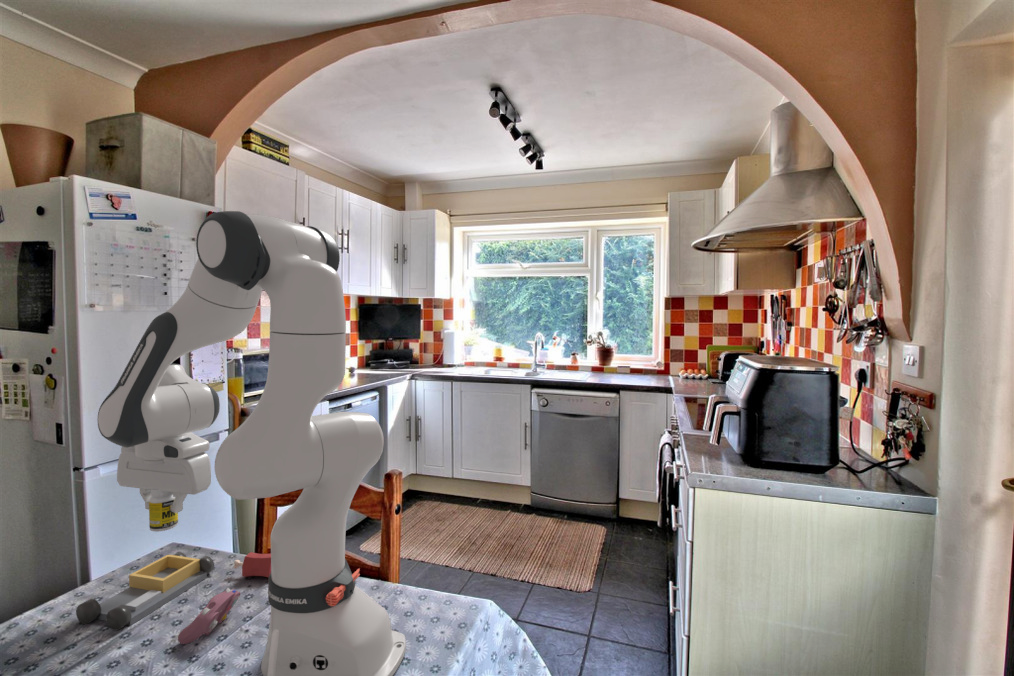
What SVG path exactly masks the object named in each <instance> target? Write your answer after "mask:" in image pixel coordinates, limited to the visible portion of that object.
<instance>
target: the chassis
mask: <svg viewBox="0 0 1014 676" xmlns="http://www.w3.org/2000/svg"><path fill="white" fill-rule="evenodd" d="M214 569H215V561H214V560H213V559H212V558H211V557H210V556H209V555H205V556H202V557H201V558H194V557H188V556H187V555H186V554H185V553H183V552H182V551H178V552H176V553H173V554H167V555H164V556H163V557H161V558H159V559H157V560H155V561H153V562H151V563H149V564H147V565H145V566H144V567H141V568H140V569H138V570H136V571H134V572H132V573H130V574H129V575H128V578H129V581H128V582H129V586H128V588H126V589H124V590H122V591H120V592H119V593H117V594H115V595H113V596H111V597H110V598H107V599H105V600H104V601H101V603H99V602H98V601H97V600H96V599H93V598H90V599H88V600H86V601H84V602H83V603H82V602H81V604H79V605H77V606H76V610H75V615H76V618H77V620H78V621H79V622H80V623H82V624H83V625H87V624H89V623H91V622H92V621H94V620H101V621H106V624H107V626H108V627H109V628H110V629H112V630H113V631H118V630H121V629H122V628H123V627H125V626H133V625H134V624H136V623H137V622H139V621H140V620H142V619H144V618H145V617H146V616H148V615H150V614H151V613H153V612H155V611H156V610H158V609H159V608H161V607H163V606H164V605H166V604H167V603H169V602H170V601H172V600H173V599H175V598H176V597H177V598H178V596H180V595H181V594H183V593H184V592H187V590H189V589H191V588H193V587H194V586H196V585H198V584H199V583H201V582H202V581H204V580H205V579H207V578H208V575H209V574H210V573H212V572H213V571H214ZM195 584H196V585H195ZM192 586H193V587H192Z"/></svg>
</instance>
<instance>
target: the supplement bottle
mask: <svg viewBox="0 0 1014 676" xmlns="http://www.w3.org/2000/svg"><path fill="white" fill-rule="evenodd" d="M151 496H152V497H151V498H150V499H149V510H148V513H149V514H148V516H149V521H148V522H149V525H148V526H149V531H151V532H155V533H157V532H165V531H169V530H171V529H174V528H175V527H176V526H177V525H178V524H179V512H178V513H172V512H170V511H169V510H170V508H169V504H172V503H173V502H174V499H175V497H173V492H167V491H160V490H155V489H151Z"/></svg>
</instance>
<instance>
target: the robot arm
mask: <svg viewBox="0 0 1014 676" xmlns="http://www.w3.org/2000/svg"><path fill="white" fill-rule="evenodd" d="M195 243H196V244H195V248H196V254H197V257H198V258H197V260H196V262H195V264H194V267H193V269H192V272H191V274H190V276H189V277H190V278H189V280H188V283H187V284H186V285H187V286H186V288H185V290H184V292H183V293H182V295H181V296H180V297H179V298H178V299H177V301H176V302H175V303H174V304H173V305H172V306H171V307H170V308H169V309H167V310H166V311H165V312H163V313H161V314H159V315H157V316H156V317H155V318H154V319H152V321H151V322H150V324H149V325H148V327H147V328H146V330H145V332H144V333H143V335H142V337H141V338H140V340H139V342H138V344H137V346H136V348H135V350H134V351H133V353H132V355H131V357H130V359H129V361H128V363H127V365H126V366H125V368H124V370H123V372H122V374H121V375H120V377H119V379H118V381H117V383H116V384H115V386H114V387H113V389H112V390H111V391H110V392H109V393H108V395H107V396H106V398H104V399H103V401H102V403H101V405H100V407H99V408H98V411H97V412H98V413H97V428H98V430H99V433H100V435H101V436H102V437H103V438H104V439H106V440H108V441H109V442H111V443H113V444H115V445H116V446H117V445H118V446H120V448H121V449H120V454H119V456H118V461H117V468H116V469H117V470H116V482H117V483H118V484H119V487H126V488H134V489H139V495H140V497H142V499H143V501H144V506H145V507H144V508H145V509H146V510H148V511H149V499H150V498H151V497H152V496H151V489H155V490H160V491H167V492H173V497H175V499H174V502H173V503H172V504H169V508H170V510H169V511H170V512H172V513H178V514H179V513H181V512H182V511H183V509H184V501H185V499H187V498H186V497H187V496H188V495H198V494H200V493H202V492H204V491H207V490H208V489H209V487H210V486H211V483H212V467H211V459H210V456H209V455H208V453H206V452H207V451H209V450H210V442H209V441H208V440H207V439H205V438H203V437H201V436H199V435H197V434H195V433H194V432H198V431H202V430H204V429H208V428H210V427H211V426H212V425H213V424H214V423H215V421H216V420H217V418H218V416H219V414H220V407H221V406H220V405H221V403H220V397H219V394H218V392H217V391H216V390H215V389H214V388H213V387H212V386H210V385H209V384H207V383H204V382H199V381H197V380H196V379H193V378H192V377H190V376H189V375H188V374H187V373H186V370H185V368H184V366H183V365H182V364H179V363H174V362H175V361H176V360H178V359H179V358H180V357H183V356H184V355H186V354H188V353H189V354H190V353H191V352H193V351H197V350H198V349H202V348H205V347H208V346H212V345H214V344H219V343H223V342H226V341H228V340H230V339H232V338H235V337H237V336H238V335H240V334H241V333H242V332H244V331H245V330H246V328H247V327H248V326H249V325H250V323H251V321H252V320H253V318H254V315H255V314H256V310H257V307H258V304H259V302H260V300H261V296H262V292H263V291H265V293H266V294H267V296H268V298H269V305H270V317H269V348H268V349H269V350H268V351H269V352H268V366H267V375H266V376H267V377H266V381H265V385H264V388H263V392H262V393H261V396H260V399H259V400H258V402H257V404H256V405H255V407H254V408H253V410H252V412H250V414H249V416H248V417H246V419H245V420H244V421H243V422H242V423H241V424H240V425H239V426H238V427H237V428H236V429H234V430H233V431H232V432H231V433H230V434H228V435H227V436H226V437H225V439H224V440H222V442H221V444H220V446H219V447H218V450H217V452H216V455H215V459H214V474H215V478H216V481H217V482H218V485H219V487H220V488H221V489H222V490H223V491H224V492H225V493H226V494H227V495H228V496H230V497H231V498H233V499H234V500H249V499H250V500H252V499H253V500H255V499H264V498H265V499H267V498H272V497H276V496H279V495H284V494H287V493H291V492H295V491H298V490H299V491H300V490H302V492H301V493H300V494H299V496H298V498H297V499H296V501H294V503H293V504H292V505H290V506H289V507H288V508H287V509H286V510H284V512H283V513H282V514H280V516H278V518H277V519H276V521H275V522H274V525H273V527H272V529H271V533H270V554H271V573H270V575H269V577H268V583H267V584H268V588H267V597H268V603H269V605H270V615H269V616H270V617H269V627H268V635H267V641H266V644H265V650H264V654H263V656H262V659H261V663H260V664H261V665H260V671H261V674H262V676H394V674H395V673H396V671H397V670H398V669H399V667H400V665H401V663H402V661H403V660H404V656H405V654H406V650H407V644H406V643H407V641H406V636H405V634H403V633H401V632H399V631H396V630H393V628H392V624H391V618H390V615H389V613H388V611H387V609H386V608H385V607H383V606H382V605H380V603H378V602H377V601H375V599H374V598H373V597H372V596H369V595H368V594H367V593H366V592H364V591H363V590H362V589H361V588H360V587H358V585H356V580H357V579H358V578H359V577H360V575H361V574H360V571H361V570H360V569H361V568H357V569H356V571H354V572H353V573H352V571H351V568H350V565H349V563H348V561H347V559H346V558H345V557H346V533H347V532H346V531H347V530H346V529H347V520H348V514H349V511H350V507H351V503H352V502H353V499H354V496H355V494H356V492H357V490H358V488H359V487H360V485H361V483H362V481H363V479H364V478H365V476H367V474H368V473H369V471H371V469H372V468H373V467H374V466H375V465H376V464H377V463H378V462H379V461H380V458H381V456H382V454H383V450H384V445H385V441H384V440H385V437H384V432H383V430H382V427H381V424H380V423H379V422H378V421H377V419H376V418H375V417H373V415H371V414H369V413H366V412H358V411H339V412H337V411H336V412H332V413H331V412H330V413H326V414H319V415H313V413H314V411H315V409H316V408H317V406H318V405H319V403H320V402H321V401H322V400H323V399H324V398H326V396H327V395H330V394H331V393H332V392H334V391H335V390H337V389H338V388H339V387H340V385H341V384H342V382H343V380H344V377H345V375H346V351H347V350H346V346H347V345H346V343H347V342H346V340H347V338H346V337H347V336H346V335H347V332H346V331H347V324H346V323H347V318H346V317H347V316H346V304H345V297H344V291H343V289H344V288H343V285H342V281H341V277H340V274H339V273H338V270H339V266H340V259H341V258H340V256H341V255H340V251H339V246H338V244H337V242H336V240H335V239H334V238H333V237H332V236H331V235H330V234H329V233H327V232H326V231H323V230H321V229H320V228H318V227H314V226H311V225H307V226H306V225H302V224H300V223H297V222H293V221H289V220H285V219H283V218H280V217H278V216H277V217H276V216H275V217H274V216H272V215H271V216H270V215H262V214H254V213H253V214H252V213H251V214H250V213H244V212H242V211H239V210H235V211H234V210H229V211H228V210H225V211H224V210H223V211H217V212H213V213H211V214H209V215H208V216H207V217H206V218H205V219H204V220H203V222H201V224H200V226H199V228H198V230H197V235H196V241H195Z"/></svg>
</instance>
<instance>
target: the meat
mask: <svg viewBox="0 0 1014 676" xmlns="http://www.w3.org/2000/svg"><path fill="white" fill-rule="evenodd" d="M239 567H241V575H242V577H244V578H245V577H246V578H250V577H265V578H269V575H270V573H271V553H257V552H253V551H251V552H249V553H247V554H246V555H245V556H244V558H243V561H241V560H240V559H235V560H234V562H233V567H232V568H233V569H238V568H239Z"/></svg>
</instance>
